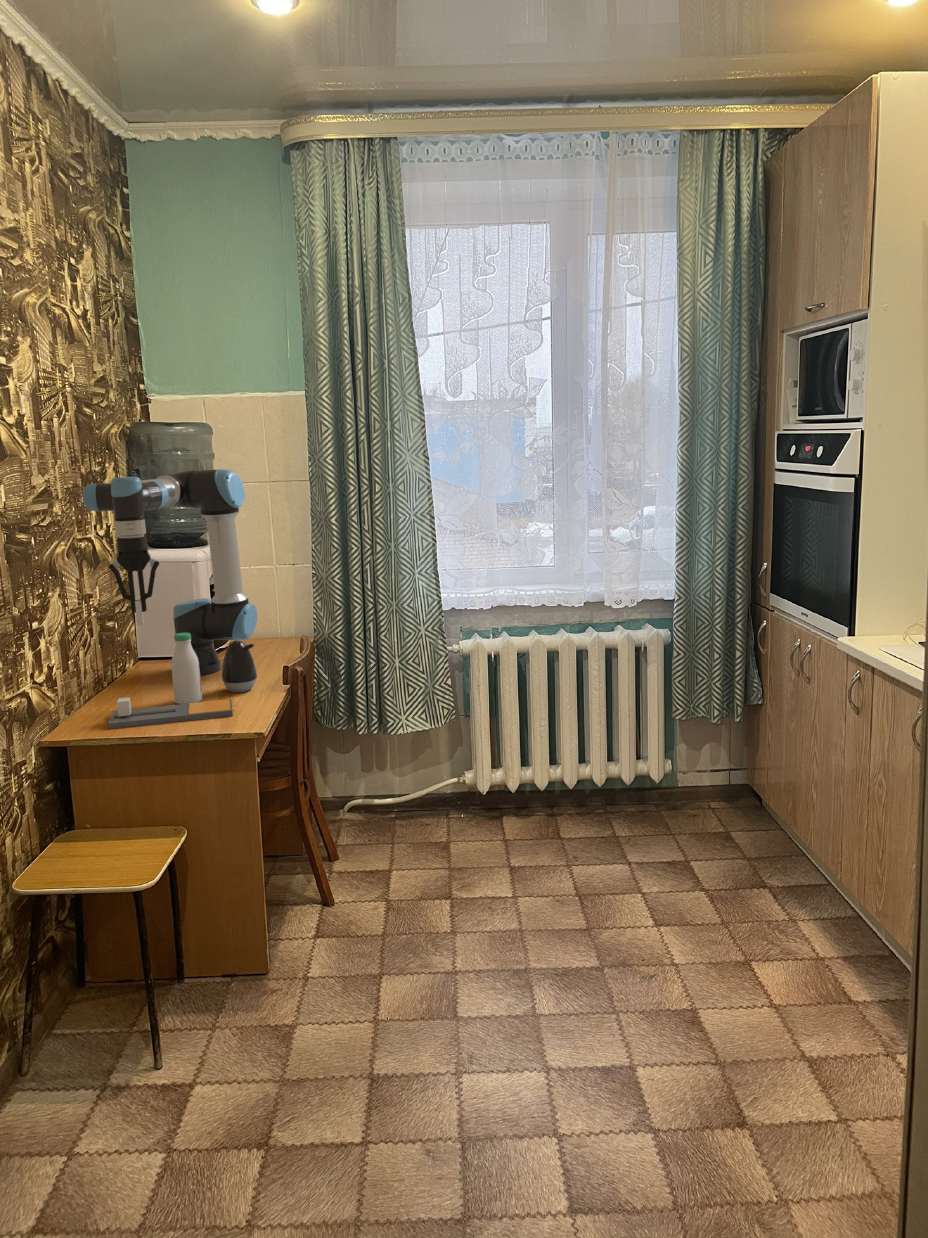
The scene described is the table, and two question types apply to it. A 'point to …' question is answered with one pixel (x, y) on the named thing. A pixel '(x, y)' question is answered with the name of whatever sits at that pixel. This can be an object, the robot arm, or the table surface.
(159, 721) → the board
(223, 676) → the pump dispenser
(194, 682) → the milk bottle
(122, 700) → the handle
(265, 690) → the table surface
